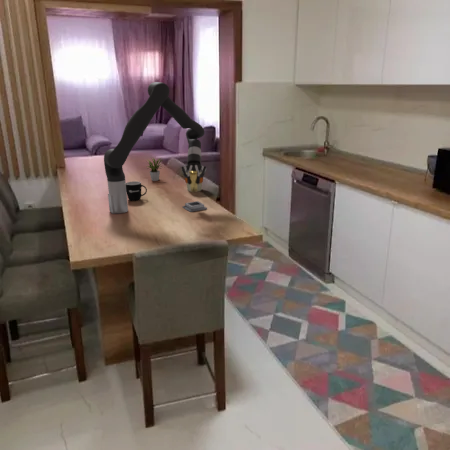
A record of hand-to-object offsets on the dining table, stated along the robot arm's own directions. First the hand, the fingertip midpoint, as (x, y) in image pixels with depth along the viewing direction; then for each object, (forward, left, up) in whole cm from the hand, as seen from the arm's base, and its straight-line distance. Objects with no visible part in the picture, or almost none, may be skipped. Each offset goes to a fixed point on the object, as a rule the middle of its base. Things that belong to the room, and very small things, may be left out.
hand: (193, 183), depth 231 cm
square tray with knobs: (+1, +2, -14) cm, 14 cm away
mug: (-20, +37, -15) cm, 44 cm away
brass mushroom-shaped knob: (+1, +2, -5) cm, 5 cm away
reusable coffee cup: (+19, +40, -15) cm, 46 cm away
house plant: (+9, +80, -15) cm, 81 cm away
